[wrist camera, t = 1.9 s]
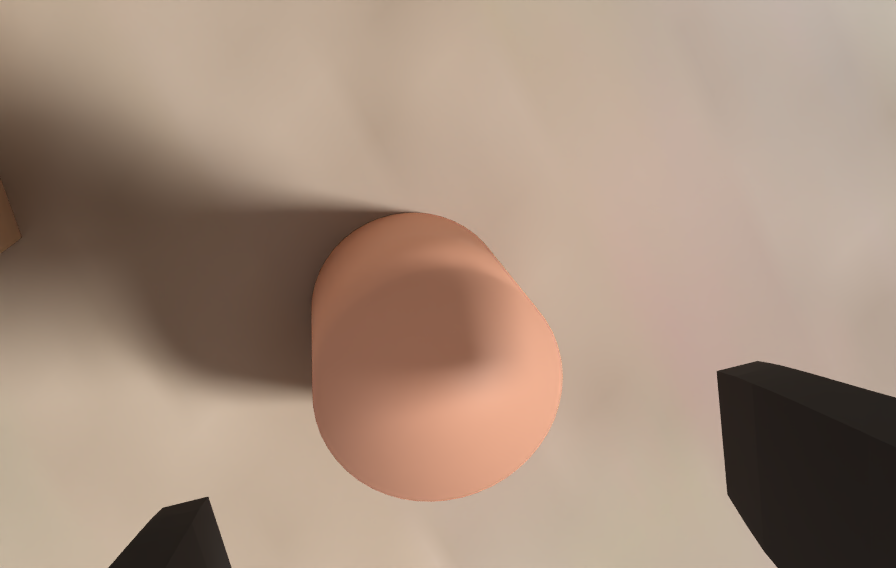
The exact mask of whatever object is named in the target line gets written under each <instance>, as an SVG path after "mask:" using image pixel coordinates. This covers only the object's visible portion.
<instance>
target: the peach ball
mask: <svg viewBox="0 0 896 568" xmlns="http://www.w3.org/2000/svg"><path fill="white" fill-rule="evenodd" d="M311 319H312V392H313V408H314V413H315V418H316V422H317V425H318V428H319V431H320V434H321V436H322V438H323V440H324V442H325V444H326V446H327V447H328V449H329V450H330V452H331V453H332V455H333V456H334V457H335V459H336V460H337V461H338V462H339V463H340V464H341V465H342V466H343V468H344V469H345V470H346V471H347V472H349V473H350V474H351V475H352V476H354V477H355V478H356V479H358V480H359V481H360V482H362V483H364V484H366V485H367V486H369V487H371V488H372V489H375V490H377V491H379V492H382V493H384V494H387V495H390V496H394V497H397V498H401V499H407V500H413V501H431V502H432V501H445V500H451V499H456V498H462V497H465V496H468V495H472V494H475V493H478V492H480V491H482V490H485V489H487V488H489V487H491V486H493V485H495V484H497V483H498V482H500V481H502V480H503V479H505V478H507V477H508V476H509V475H511V474H512V473H513V472H515V471H516V470H517V469H518V468H520V467H521V466H522V465H523V464H524V463H525V462H526V461H527V460H528V459H529V458H530V457H531V456H532V454H533V453H534V452H535V451H536V450H537V448H538V447H539V446H540V444H541V443H542V441H543V440H544V438H545V437H546V435H547V433H548V431H549V429H550V427H551V425H552V423H553V421H554V419H555V416H556V413H557V410H558V407H559V403H560V397H561V392H562V378H563V374H562V362H561V357H560V353H559V348H558V345H557V342H556V340H555V337H554V334H553V332H552V330H551V329H550V327H549V325H548V323H547V321H546V320H545V318H544V317H543V316H542V314H541V313H540V312H539V310H538V309H537V308H536V307H535V305H534V304H533V303H532V302H531V300H530V299H529V298H528V297H527V295H526V294H525V293H524V292H523V290H522V289H521V288H520V287H519V286H518V284H517V283H516V282H515V281H514V279H513V278H512V277H511V276H510V274H509V273H508V272H507V271H506V269H505V268H504V267H503V266H502V264H501V263H500V262H499V261H498V259H497V258H496V257H495V256H494V255H493V253H492V252H491V251H490V250H489V248H488V247H487V246H486V245H485V243H484V242H482V241H481V240H480V239H479V238H478V237H477V236H476V235H475V234H474V233H472V232H471V231H470V230H468V229H467V228H466V227H464V226H462V225H460V224H458V223H456V222H455V221H452V220H449V219H447V218H444V217H441V216H437V215H432V214H426V213H400V214H394V215H389V216H386V217H382V218H379V219H376V220H374V221H371V222H369V223H367V224H365V225H363V226H361V227H360V228H358V229H356V230H355V231H353V232H352V233H351V234H350V235H348V236H347V237H346V238H344V239H343V240H342V241H341V242H340V243H339V244H338V245H337V246H336V247H335V248H334V250H333V251H332V252H331V254H330V255H329V256H328V258H327V259H326V261H325V263H324V265H323V266H322V268H321V270H320V272H319V275H318V277H317V280H316V282H315V287H314V291H313V295H312V305H311Z"/></svg>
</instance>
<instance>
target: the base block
mask: <svg viewBox="0 0 896 568" xmlns="http://www.w3.org/2000/svg"><path fill="white" fill-rule="evenodd" d="M20 238H22V236H21V234H20V231H19V228H18V225H17V223H16V220H15V217H14V214H13V211H12V209H11V206H10V203H9V200H8V198H7V195H6V192H5V189H4V187H3V184H2V181H1V178H0V254H1V253H2V252H3V251H5V250H6V249H7V248H9V247H10V246H11V245H13V244H14V243H15V242H17V241H18V240H19V239H20Z"/></svg>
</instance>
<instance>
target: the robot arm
mask: <svg viewBox="0 0 896 568" xmlns="http://www.w3.org/2000/svg"><path fill="white" fill-rule="evenodd" d="M717 380H718V391H719V403H720V414H721V426H722V437H723V449H724V460H725V471H726V483H727V494H728V496H729V498H730V499H731V501H732V503H733V504H734V506H735V507H736V509H737V511H738V512H739V514H740V515H741V517H742V519H743V520H744V522H745V523H746V525H747V527H748V528H749V530H750V531H751V533H752V534H753V536H754V537H755V538H756V540H757V541H758V543H759V544H760V546H761V547H762V549H763V550H764V552H765V553H766V554H767V555H768V557H769V558H770V559H771V560H772V561H773V563H774V564H775V565H776V566H777V567H778V568H896V398H895V397H891V396H888V395H884V394H881V393H877V392H874V391H870V390H866V389H863V388H859V387H856V386H853V385H849V384H846V383H842V382H839V381H835V380H832V379H828V378H825V377H821V376H818V375H814V374H811V373H807V372H804V371H800V370H796V369H792V368H789V367H785V366H780V365H776V364H771V363H766V362H760V361H756V362H752V363H748V364H744V365H740V366H736V367H732V368H728V369H724V370H719V371H717ZM109 568H231V565H230V562H229V559H228V556H227V553H226V550H225V547H224V544H223V540H222V537H221V534H220V531H219V528H218V525H217V522H216V519H215V516H214V513H213V510H212V507H211V504H210V501H209V498H208V497H205V498H201V499H197V500H193V501H189V502H184V503H180V504H176V505H172V506H168V507H164V508H162V509H161V510H160V511H159V512H158V513H157V514H156V515H155V516H154V517H153V518H152V519H151V520H150V521H149V522H148V523H147V524H146V525H145V527H144V528H143V529H142V530H141V531H140V532H139V533H138V534H137V536H136V537H135V538H134V539H133V540H132V541H131V542H130V544H129V545H128V546H127V547H126V548H125V549H124V550H123V552H122V553H121V554H120V555H119V556H118V557H117V559H116V560H115V561H114V562H113V563H112V564H111V565H110V566H109Z"/></svg>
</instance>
